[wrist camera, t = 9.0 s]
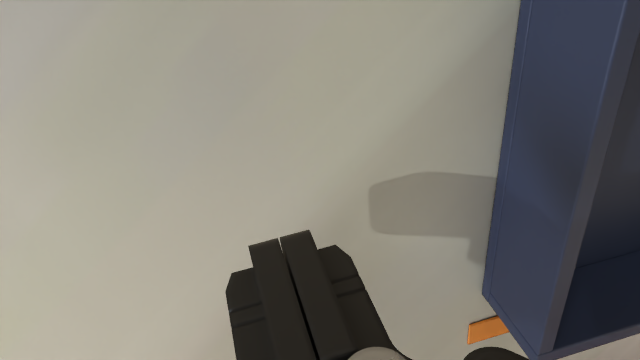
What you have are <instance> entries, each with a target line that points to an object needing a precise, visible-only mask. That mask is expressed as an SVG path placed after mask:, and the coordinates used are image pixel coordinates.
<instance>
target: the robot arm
mask: <svg viewBox="0 0 640 360" xmlns="http://www.w3.org/2000/svg"><path fill="white" fill-rule="evenodd" d="M280 242H281V247H282V250H281V247H280V243H279V240H278V238H276V239H273V240H269V241H265V242H261V243H258V244H254V245H250V246H249V251H250V255H251V259H252V263H253V268H249V269H245V270H242V271H238V272H234V273H232V274H231V277H230V280H229V283H228V286H227V289H226V298H227V304H228V310H229V316H230V322H231V327H232V335H233V341H234V347H235V353H236V359H237V360H412V359H410V358H408V357H406V356H405V355H403V354H402V353H401V352H399V351H398V350H397V349H396V348H395V346H394V345H393V344H392V342H391V340H390V339H389V336H388V334H387V332H386V330H385V328H384V326H383V324H382V322H381V320H380V318H379V316H378V313H377V311H376V309H375V307H374V305H373V303H372V301H371V299H370V297H369V295H368V292H367V290H365V286H364V284H363V282H362V280H361V278H360V277H359V274H358V272H357V269H356V267H355V265H354V263H353V261H352V259H351V257H350V256H349V255H348V254H346V253H345V252H344V251H343V250H341V249H340V248H339V247H338V246H336V245H333V246H329V247H325V248H322V249H318V250H317V247H316V245H315V242H314V240H313V237H312V235H311V233H310V231H309V230H306V231H302V232H298V233H295V234H291V235H287V236H283V237H280ZM282 252H283V253H282ZM464 360H529V359H527V358H525V357H523V356H520V355H518V354H516V353H514V352H512V351H509V350H506V349H503V348H499V347H484V348H479V349H477V350H474V351H472V352H471V353H469V354H468V355H467V356H466V357H465V358H464Z"/></svg>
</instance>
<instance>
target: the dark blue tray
mask: <svg viewBox="0 0 640 360" xmlns="http://www.w3.org/2000/svg"><path fill="white" fill-rule="evenodd" d="M482 295H483V296H484V297H485V299H486V300H487V301H488V302H489V304H490V305H491V307H492V308H493V310H494V311H495V312H496V314H497V315H498V316H499V318H500V319H501V321H502V322H503V323H504V325H505V326H506V327H507V329H508V330H509V332H510V333H511V334H512V336H513V337H514V338H515V340H516V341H517V342H518V344H519V345H520V347H521V348H522V349H523V351H524V352H525V353H526V355H527V356H528V358H529V359H530V360H556V359H559V358H563V357H566V356H569V355H572V354H575V353H578V352H581V351H585V350H588V349H591V348H594V347H597V346H600V345H604V344H607V343H610V342H613V341H616V340H619V339H623V338H626V337H629V336H632V335H635V334H638V333H640V0H521V5H520V13H519V20H518V28H517V35H516V43H515V50H514V58H513V65H512V73H511V80H510V87H509V95H508V102H507V110H506V117H505V125H504V132H503V140H502V147H501V154H500V162H499V169H498V177H497V184H496V192H495V199H494V207H493V214H492V221H491V229H490V236H489V244H488V251H487V259H486V266H485V274H484V281H483V289H482Z"/></svg>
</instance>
